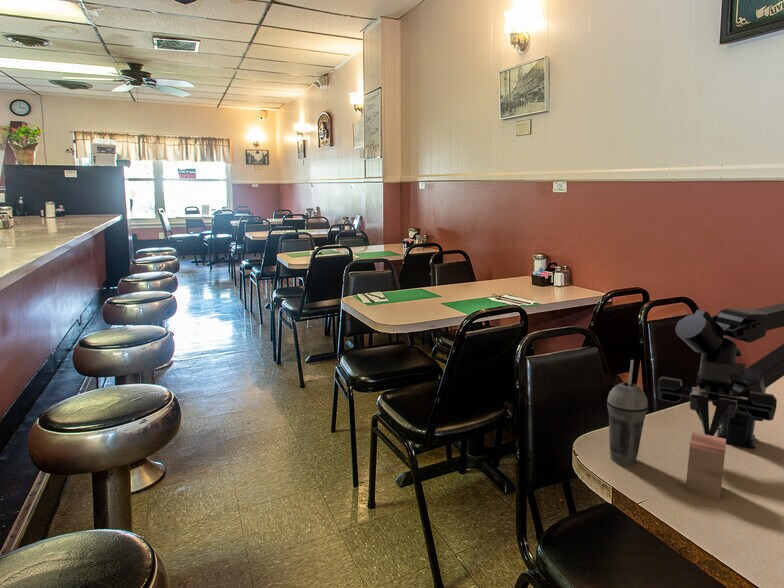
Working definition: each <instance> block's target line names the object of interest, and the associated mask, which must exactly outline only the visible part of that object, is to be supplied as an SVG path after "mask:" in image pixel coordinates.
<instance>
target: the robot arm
mask: <svg viewBox="0 0 784 588" xmlns="http://www.w3.org/2000/svg"><path fill="white" fill-rule="evenodd" d="M782 327H783V328H784V302H783V303H782V302H781V303H777V304H773V305H769V306H765V307H760V308H755V309H746V308H736V307H735V308H734V307H733V308H729V307H728V308H723V309H722V310H720V311H718V313H717V314H715V315H713V316H711V314H710V313H709V312H708V311H707V310H702V309H696V311H695V312H694V313H692V314H688V315H685V316H684V317H682V318H681V319H679V320H678V322H677V324H676V325H675V333H676V335H677V337H679V338H680V339H681V340H682V341H684V343H686V345H688V347H690V348H691V349H692V350H693V351H694V352H696V353H700V354H701V356H700V364H699V369H698V371H697V375H696V377H697V378H696V387H695V386H691V387H689V386H683V381H682V379H679V378H674V377H668V376H661V377H660V378H658V380H657V385H656V386H657V387H656V389H657V399H658V400H660V401H664V402H668V403H673V404H676V403H678V402H680V401H681V399H682V397H684V398H689V409H690V410H692V411H695V412H696V414H697V416H698V419H699V421H700V422H701V423H700V424H701V427H702V431H703V434H705V435H710V436H715V434H716V433H717V435H716V437H720V438H724V439H726V444H731V445H736V446H740V447H745V448H751V449H756V435H755V434H754V433H755V425H756V422H764V421H769V422H770V421H774V417H775V414H776V411H777V403H778V402H777V401H778V399H777V397H776V396H775V395H774V394H771V393H766V390H767V388H768V387H770V386H772V384H774V383H775V382H777V381H779V380H780V379H781V378H783V377H784V343H783V344H781V345H780V346H778V347H777V348H775V349H773V350H772V351H771V352H769V353H767V354H766V355H765V356H763V357H762V358H760V359H758V360H756V362H754V363H753V364H750V366H747V368H746V363H742V362H741V363H740V362H737V361H736V359H737V357H741V356H742V352H741V350H740V348H738V345H737V344H736V343H735V342H734V341H733V340H732V339H734V340H737V341H740V342H745V343H747V344H748V343H750V344H751V343H754V342H756V341H758V340H760V339H762V338H765V337H766V335H767V333H768V332H769V331H771V330H772V331H773V330H775V329H780V328H782ZM709 402H711V403H712V406H713V407H715V409H714V413H713V416H712V420H711V424H710V414H709V413H710V411H709V408H710V406H709Z"/></svg>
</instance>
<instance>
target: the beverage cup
mask: <svg viewBox="0 0 784 588" xmlns="http://www.w3.org/2000/svg"><path fill="white" fill-rule="evenodd" d="M634 362H635V360H634V359H631V360H630V366H629V367H630V368H629V373H628V374H629V376H628V382H621V383H618V384H616V385H615V386H614V387H612V389H611V390H610V391H609V393H608V396H607V399H606V407H607V412H608V425H609V426H608V429H609V431H608V433H609V435H608V436H609V453H610V460H611V459H612V460H611V461H612V462H614V463H615V464H618V465H621V466H626V467H629V466H630V467H631V466H633V465H636V463H637V458H638V454H639V450H640V449H639V448H640V446H641V445H640V443H641V439H642V432H643V427H644V423H645V419H646V415H647V412H648V410H649V405H648V404H649V403H648V398H647V395H646V394H645V392H644V390H643V389H642V388H641V387H639V386H638V385H637V384H635V383H632V380H633V372H634V371H633V370H634Z"/></svg>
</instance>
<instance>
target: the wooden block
mask: <svg viewBox="0 0 784 588" xmlns="http://www.w3.org/2000/svg"><path fill="white" fill-rule="evenodd" d="M726 445H727V443H726V439H724V438H720V437H717V436H715V435H714V436H710V435H705V434H704V433H700V432H695V431H692V434H691V438H690V442H689V450H688V461H687V469H686V470H687V472H686V482H685V492H688V493H691V494H695V495H699V496H703V497H706V498H710V499H714V500H718V501H720V500H721V491H722V484H723V475H724V474H723V473H724V467H725V465H724V464H725V457H726Z"/></svg>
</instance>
